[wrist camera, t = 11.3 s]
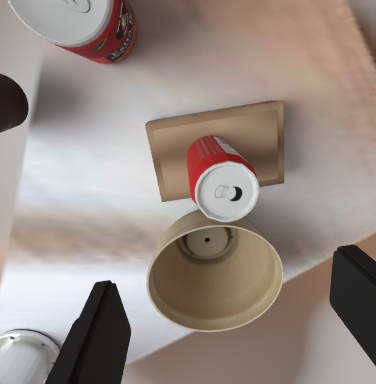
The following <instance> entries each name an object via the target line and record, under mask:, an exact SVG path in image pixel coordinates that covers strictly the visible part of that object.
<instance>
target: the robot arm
mask: <svg viewBox="0 0 376 384" xmlns="http://www.w3.org/2000/svg"><path fill="white" fill-rule="evenodd" d="M330 303H331V306H332V307H333V309H334V310H335V312H336V313H337V314H338V316H339V317H340V318H341V320H342V321H343V323H344V324H345V325H346V327H347V328H348V329H349V331H350V332H351V333H352V335H353V336H354V337H355V339H356V340H357V342H358V343H359V344H360V346H361V347H362V348H363V350H364V351H365V352H366V354H367V355H368V356H369V358H370V359H371V360H372V362H373V363H374V365H375V366H376V261H374V260H373V259H372V258H371V257H370V256H368V255H367V254H366V253H365V252H363V251H362V250H361V249H360V248H359V247H357V246H356V245H346V246H340V247H338V248H337V251H334V255H333V266H332V276H331V287H330ZM130 337H131V328H130V324H129V321H128V318H127V316H126V313H125V310H124V307H123V304H122V301H121V298H120V295H119V292H118V289H117V286H116V284H115V283H112V282H111V281H110V280H108V281H101V282H96V283H95V284H94V286H93V289H92V291H91V293H90V295H89V297H88V299H87V302H86V304H85V306H84V308H83V310H82V312H81V315H80V317H79V318H78V319H77V320H75V322H74V323H73V325H72V327H71V329H70V331H69V334H68V336H67V338H66V340H65V342H64V344H63V346H62V348H61V350H60V351H59V349H58V347H57V345H56V344H55V343H54V342H53V341H52V340H50V339H49V338H48V337H46V336H44V335H42V334H39V333H36V332H33V331H27V330H14V331H9V332H6V333H4V334H2V335H0V384H42V383H43V381H44V379H45V377H46V375H48V374H49V376H48V378H47V380H46V382H45V384H121V379H122V375H123V370H124V366H125V361H126V356H127V351H128V346H129V342H130Z"/></svg>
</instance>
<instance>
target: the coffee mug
mask: <svg viewBox="0 0 376 384" xmlns="http://www.w3.org/2000/svg"><path fill="white" fill-rule="evenodd" d="M27 115H28V101H27V98H26V95H25V93H24V92H23V90H22V88H21V87H20V86H19V85H18V84H17V83H16V82H15V81H14V80H12V79H11V78H9V77H7V76H5V75H2V74H0V132H3V131H5V130H8V129H11V128H13V127H16V126H18V125H20V124H21V123H23V122H24V120H25V119H26V117H27Z"/></svg>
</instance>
